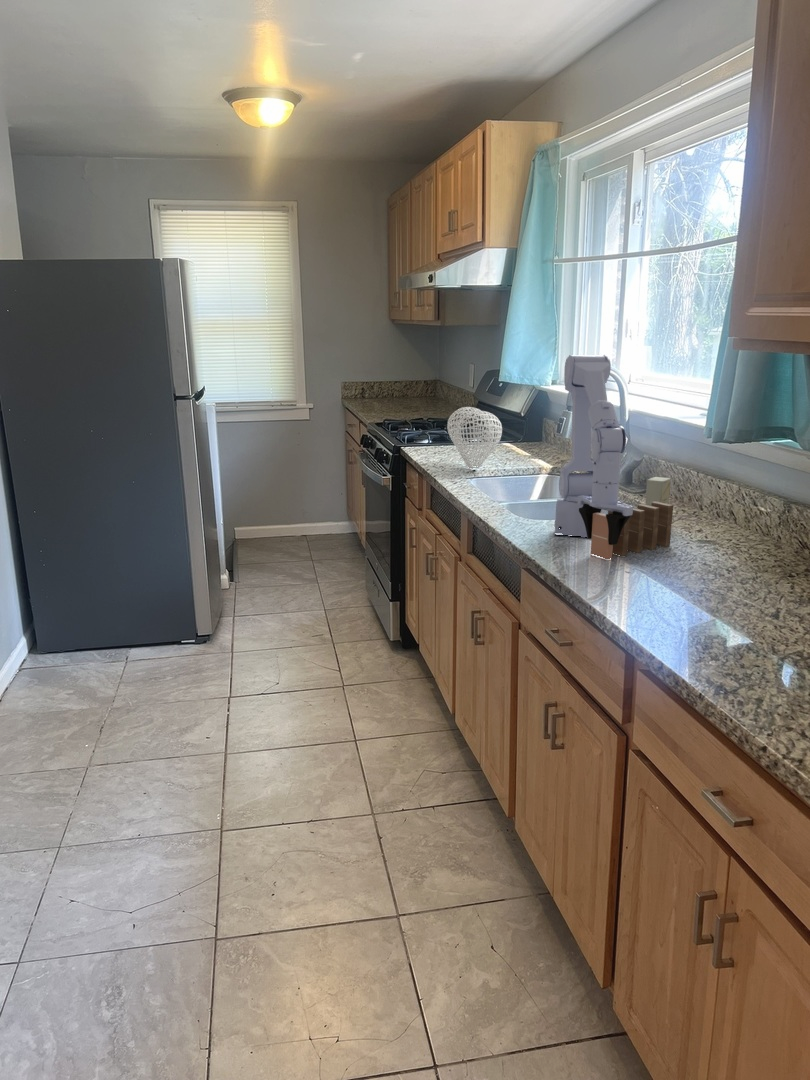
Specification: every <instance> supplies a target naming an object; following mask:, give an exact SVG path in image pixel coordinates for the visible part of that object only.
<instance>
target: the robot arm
mask: <svg viewBox="0 0 810 1080" xmlns="http://www.w3.org/2000/svg"><path fill="white" fill-rule="evenodd" d="M611 364H612V363H611V360H610V357H609V356H608V355H607V354H603V355H602V354H601V355H573V354H569V355H568V356H567V357H566V360H565V363H564V376H563V377H564V378H563V379H564V381H563V382H564V384H563V385H564V389H565V391H566V392H569V393H570V394H571V402H572V403H571V405H572V407H571V408H572V409H571V411H572V412H571V416H572V417H571V459H570V460H569V461H567V462H566V463H565V464H564V465H563V466H562V467H561V468H560V470H559V471H560V472H559V480H558V491H559V495H560V496H561V498H557V499H556V506H555V520H554V534H555V533H562V534H563V535H572V536H581V537H580V538H585V537H587V539H589V540H591V538H592V522H593V513H597V512H599V513H602V511H606V512H607V511H611V512H613V514H612V513H611V514H608V513H607V514H606V513H605V514H606V518H607V522H608V530H609V532H608V542H609V545H614V544H617V542H618V539H619V536H620V534H621V531H622V529H623V527H624V525H625V523H626V522H627V520H628V519H629V518H630V515H632V514H633V508H634V506H632V505H630V504H626V503H623V502H622V501H620V500H619V488H620V475H621V463H622V462H621V461H622V454H624V453H625V450H626V446H627V434H626V429H625V427H624V426H622V424H621V423H619V422H618V418H617V414H616V410H615V406H614V404H613V403H612V402H610V401H608V396H607V394H608V393H607V388H606V384H607V382H608V380H609V378H610V375H611V370H612V369H611V368H612V367H611V366H612V365H611ZM574 472H575V473H574ZM577 472H579V473H577ZM559 528H560V529H559Z"/></svg>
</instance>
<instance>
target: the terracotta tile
mask: <svg viewBox="0 0 810 1080" xmlns="http://www.w3.org/2000/svg"><path fill="white" fill-rule="evenodd" d="M608 532H609V530H608V522H607V518H606V513H602V512H600V513H599V512H597V513H593V522H592V538H591V539H590V541H591V542H590V554H594V555H597V556H600V557H603V558H605V559H610V558H612V559H613V554H612V551H613V545H609V542H608Z"/></svg>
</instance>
